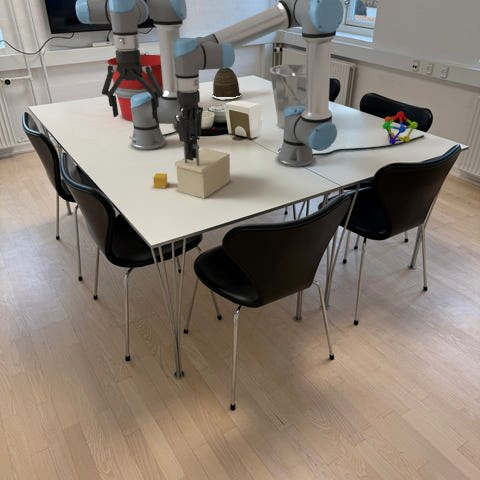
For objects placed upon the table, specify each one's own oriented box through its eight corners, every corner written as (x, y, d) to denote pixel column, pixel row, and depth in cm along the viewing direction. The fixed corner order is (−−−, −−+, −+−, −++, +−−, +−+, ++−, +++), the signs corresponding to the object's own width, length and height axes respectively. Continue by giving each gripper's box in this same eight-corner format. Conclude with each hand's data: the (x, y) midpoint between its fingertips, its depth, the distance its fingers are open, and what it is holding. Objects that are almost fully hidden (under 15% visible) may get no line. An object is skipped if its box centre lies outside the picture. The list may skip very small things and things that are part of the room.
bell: (227, 105, 294) (202, 96, 282) (238, 66, 289) (213, 55, 277) (243, 108, 280) (217, 98, 268) (255, 66, 275) (229, 55, 263)
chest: (204, 198, 160) (202, 172, 154) (178, 191, 165) (176, 165, 160) (229, 181, 172) (229, 156, 167) (205, 175, 178) (204, 150, 172)
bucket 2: (296, 138, 215) (301, 78, 201) (255, 124, 234) (256, 68, 219) (335, 125, 232) (342, 70, 217) (294, 113, 251) (297, 61, 236)
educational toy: (377, 146, 209) (379, 114, 202) (384, 138, 219) (386, 107, 211) (411, 149, 202) (415, 116, 195) (417, 141, 212) (420, 109, 204)
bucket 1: (121, 106, 263) (114, 51, 247) (180, 106, 262) (176, 52, 246) (104, 123, 233) (95, 63, 217) (170, 124, 232) (166, 64, 216)
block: (165, 188, 167) (164, 178, 165) (154, 187, 167) (153, 177, 165) (167, 183, 171) (166, 173, 168) (157, 183, 171) (155, 173, 169)
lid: (201, 173, 154) (200, 149, 149) (174, 166, 159) (173, 142, 154) (229, 156, 167) (229, 134, 162) (204, 150, 172) (203, 128, 168)
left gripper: (84, 50, 136) (95, 118, 148) (163, 52, 134) (168, 121, 145) (93, 46, 143) (104, 112, 154) (169, 48, 140) (174, 114, 152)
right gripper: (183, 96, 137) (187, 167, 150) (210, 87, 148) (212, 154, 160) (164, 93, 140) (170, 163, 153) (192, 84, 151) (195, 150, 163)
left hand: (135, 116), depth 150 cm, fingers open, 13 cm apart
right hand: (191, 158), depth 156 cm, fingers closed on lid, 2 cm apart
